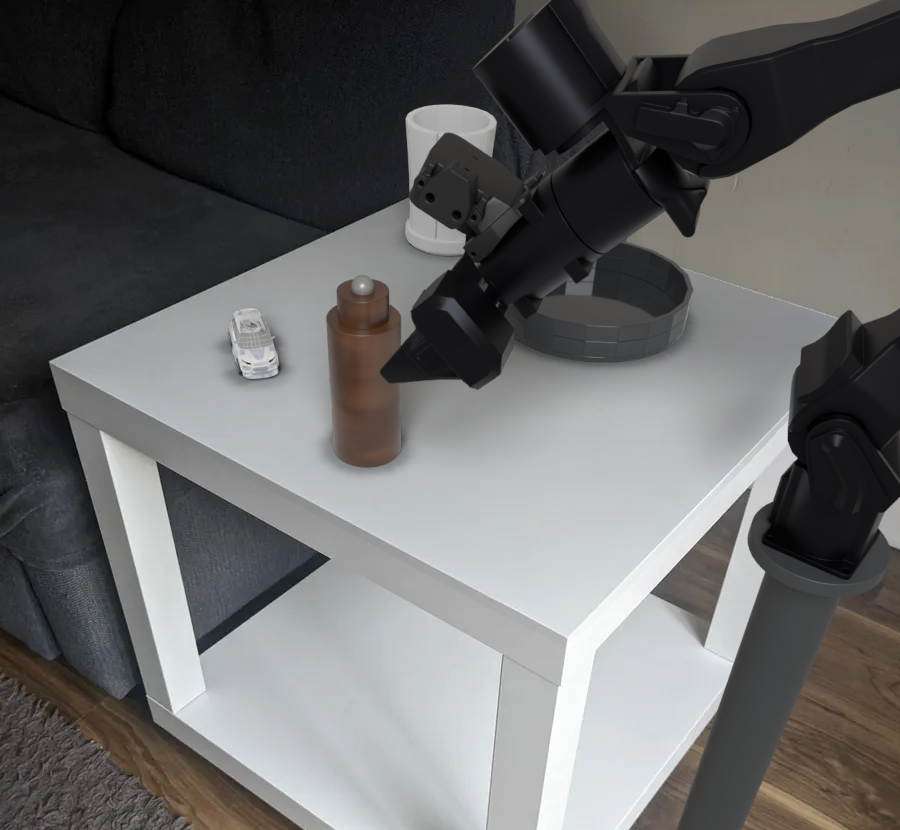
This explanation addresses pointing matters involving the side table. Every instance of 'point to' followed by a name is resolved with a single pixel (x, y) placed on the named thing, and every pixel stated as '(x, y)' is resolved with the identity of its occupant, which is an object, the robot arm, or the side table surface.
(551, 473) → the side table surface
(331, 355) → the pepper mill
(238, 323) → the toy car
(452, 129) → the cup
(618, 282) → the pan
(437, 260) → the side table surface
